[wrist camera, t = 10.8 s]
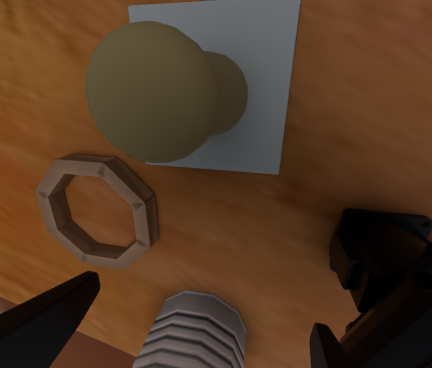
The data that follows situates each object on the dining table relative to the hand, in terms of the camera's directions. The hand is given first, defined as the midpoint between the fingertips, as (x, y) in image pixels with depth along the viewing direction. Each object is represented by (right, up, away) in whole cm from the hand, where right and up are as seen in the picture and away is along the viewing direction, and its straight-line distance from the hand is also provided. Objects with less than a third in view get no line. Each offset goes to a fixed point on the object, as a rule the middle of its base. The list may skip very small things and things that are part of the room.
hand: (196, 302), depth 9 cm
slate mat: (0, +12, +9) cm, 15 cm away
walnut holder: (-12, +2, +16) cm, 20 cm away
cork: (0, +12, +9) cm, 15 cm away
